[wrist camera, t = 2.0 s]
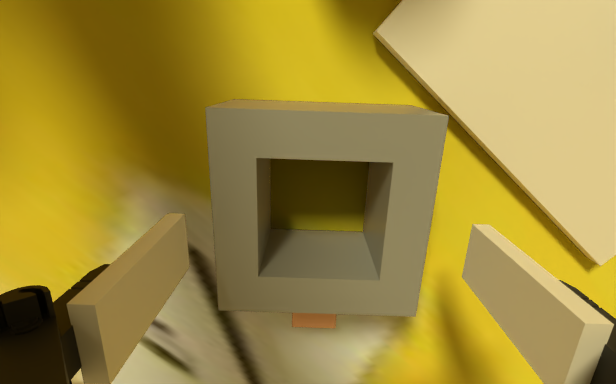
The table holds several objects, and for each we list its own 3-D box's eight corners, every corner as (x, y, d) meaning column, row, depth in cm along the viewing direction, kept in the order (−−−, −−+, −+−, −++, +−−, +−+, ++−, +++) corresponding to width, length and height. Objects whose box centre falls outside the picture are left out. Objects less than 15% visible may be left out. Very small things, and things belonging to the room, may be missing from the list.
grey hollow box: (234, 99, 21) (205, 107, 15) (411, 105, 21) (449, 115, 15) (241, 302, 26) (222, 366, 20) (385, 306, 26) (406, 371, 20)
